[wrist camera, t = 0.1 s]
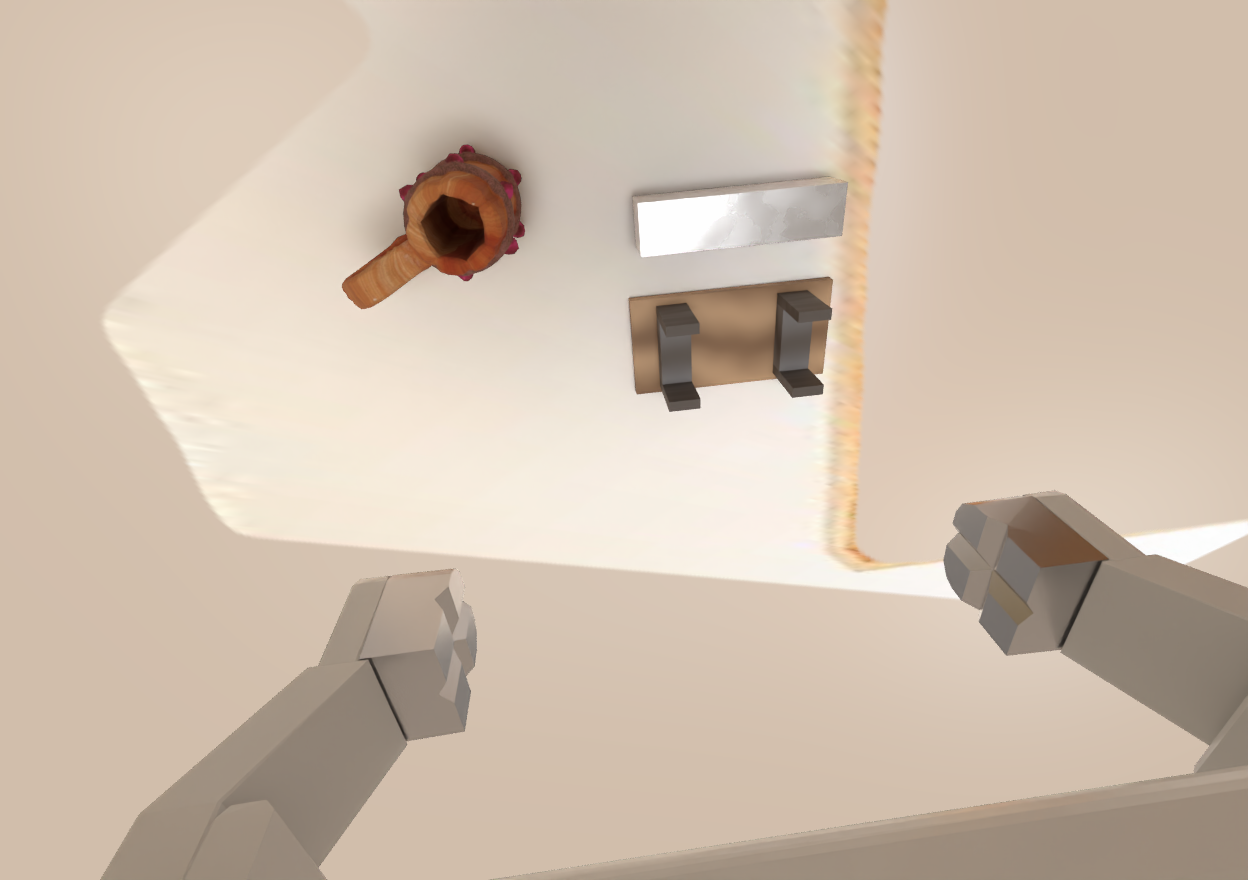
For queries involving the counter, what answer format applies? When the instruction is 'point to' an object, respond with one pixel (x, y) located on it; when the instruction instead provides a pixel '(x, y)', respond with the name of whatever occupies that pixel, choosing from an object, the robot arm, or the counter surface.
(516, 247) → the mug
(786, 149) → the counter surface
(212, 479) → the counter surface
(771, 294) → the stand
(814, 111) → the counter surface
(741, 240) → the rail
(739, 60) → the counter surface
